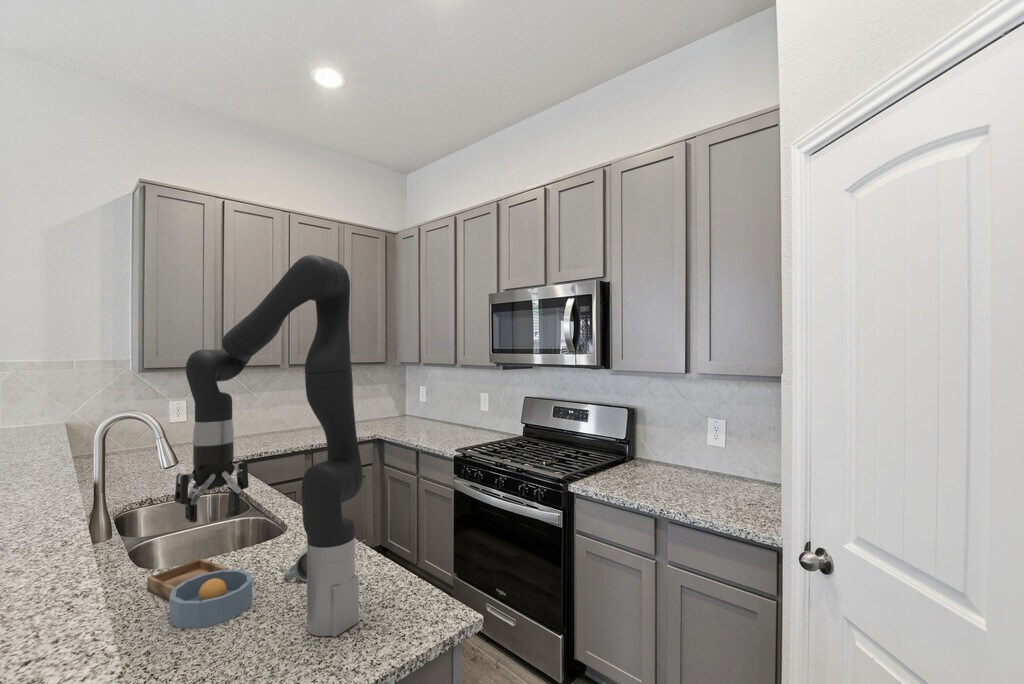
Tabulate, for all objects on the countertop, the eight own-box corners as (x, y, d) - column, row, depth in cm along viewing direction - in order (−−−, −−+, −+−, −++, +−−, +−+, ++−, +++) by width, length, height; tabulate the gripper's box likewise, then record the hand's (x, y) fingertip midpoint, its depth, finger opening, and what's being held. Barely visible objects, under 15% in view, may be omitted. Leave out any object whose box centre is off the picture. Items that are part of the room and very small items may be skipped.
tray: (228, 581, 118) (228, 568, 118) (174, 603, 107) (174, 590, 107) (201, 570, 123) (201, 558, 124) (147, 590, 113) (147, 577, 113)
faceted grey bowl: (266, 601, 108) (266, 578, 108) (194, 636, 95) (194, 610, 95) (227, 585, 115) (227, 564, 115) (155, 615, 102) (155, 591, 102)
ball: (231, 601, 106) (231, 577, 106) (206, 612, 102) (206, 587, 102) (217, 595, 109) (218, 572, 109) (193, 606, 104) (193, 581, 104)
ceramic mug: (331, 565, 126) (330, 536, 126) (329, 580, 118) (328, 548, 118) (286, 572, 123) (286, 541, 123) (281, 587, 115) (280, 554, 115)
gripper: (187, 448, 98) (187, 529, 97) (255, 437, 110) (255, 509, 110) (168, 445, 101) (168, 523, 101) (236, 434, 114) (235, 504, 114)
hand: (213, 515), depth 105 cm, fingers open, 8 cm apart
